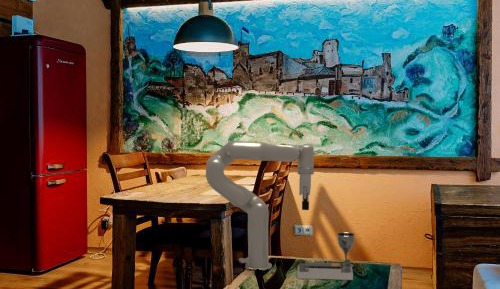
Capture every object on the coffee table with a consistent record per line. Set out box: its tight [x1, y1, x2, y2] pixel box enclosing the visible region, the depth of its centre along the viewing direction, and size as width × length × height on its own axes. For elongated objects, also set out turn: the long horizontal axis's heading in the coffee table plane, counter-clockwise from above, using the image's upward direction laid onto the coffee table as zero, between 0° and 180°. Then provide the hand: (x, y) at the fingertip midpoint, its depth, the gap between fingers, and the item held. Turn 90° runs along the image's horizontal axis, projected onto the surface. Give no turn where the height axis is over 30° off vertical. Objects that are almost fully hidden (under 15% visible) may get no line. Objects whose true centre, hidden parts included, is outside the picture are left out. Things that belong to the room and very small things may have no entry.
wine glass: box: [336, 231, 355, 268], centre depth 260 cm, size 8×8×15 cm
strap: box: [302, 262, 344, 269], centre depth 244 cm, size 18×5×1 cm, turn 83°
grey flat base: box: [297, 258, 354, 281], centre depth 244 cm, size 24×10×7 cm, turn 83°
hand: (305, 209), depth 259 cm, fingers closed
